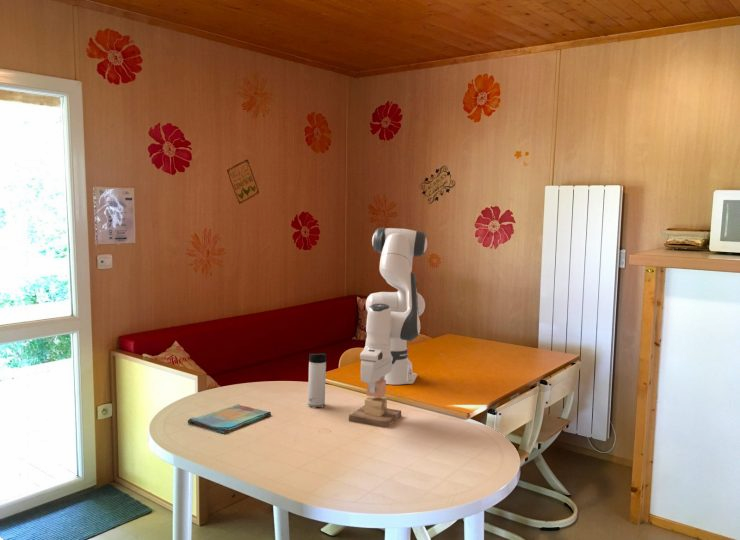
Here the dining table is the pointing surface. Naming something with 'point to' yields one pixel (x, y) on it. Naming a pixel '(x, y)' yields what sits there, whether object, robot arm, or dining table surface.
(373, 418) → the base board
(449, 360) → the dining table surface
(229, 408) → the dish towel
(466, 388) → the dining table surface
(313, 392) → the travel mug
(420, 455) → the dining table surface
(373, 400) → the oak block
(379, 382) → the terracotta block
